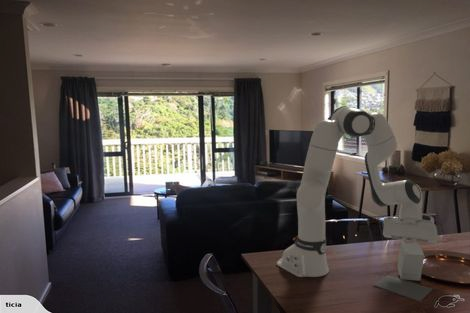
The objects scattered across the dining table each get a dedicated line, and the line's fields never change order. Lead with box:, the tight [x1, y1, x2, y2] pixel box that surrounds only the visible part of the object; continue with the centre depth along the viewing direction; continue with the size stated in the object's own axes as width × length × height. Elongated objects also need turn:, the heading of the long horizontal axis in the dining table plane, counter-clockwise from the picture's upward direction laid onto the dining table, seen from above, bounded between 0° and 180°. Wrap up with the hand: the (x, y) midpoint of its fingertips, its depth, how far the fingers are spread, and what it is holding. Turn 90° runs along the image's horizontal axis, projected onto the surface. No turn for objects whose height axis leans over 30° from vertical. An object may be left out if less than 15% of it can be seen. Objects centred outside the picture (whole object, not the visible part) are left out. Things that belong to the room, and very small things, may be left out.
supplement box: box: [396, 242, 425, 282], centre depth 142 cm, size 7×7×13 cm
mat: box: [373, 274, 434, 303], centre depth 136 cm, size 17×12×1 cm
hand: (408, 249), depth 145 cm, fingers closed
